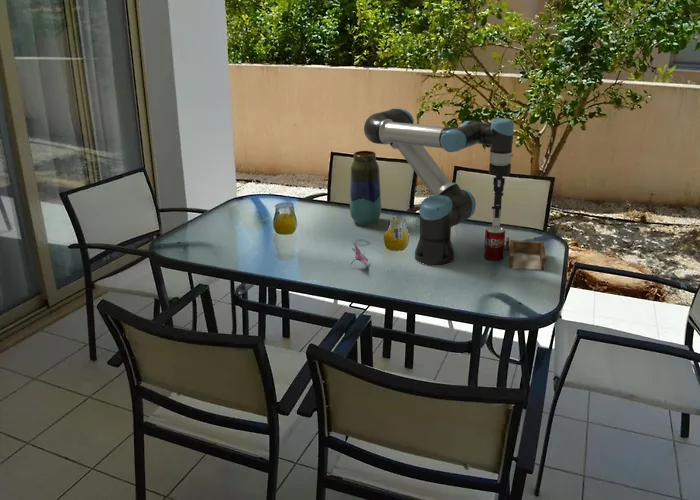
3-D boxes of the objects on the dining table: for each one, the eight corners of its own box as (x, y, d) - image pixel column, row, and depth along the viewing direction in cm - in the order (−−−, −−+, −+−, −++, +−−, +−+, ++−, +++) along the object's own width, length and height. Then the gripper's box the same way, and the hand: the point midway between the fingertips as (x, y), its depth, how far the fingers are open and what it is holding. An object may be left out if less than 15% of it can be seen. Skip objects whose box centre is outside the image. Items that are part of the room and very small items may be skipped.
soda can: (503, 263, 234) (505, 233, 230) (483, 262, 236) (485, 232, 231) (503, 255, 241) (505, 226, 236) (483, 254, 242) (485, 225, 237)
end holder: (509, 268, 230) (510, 255, 228) (509, 252, 243) (510, 239, 241) (544, 271, 227) (545, 257, 225) (542, 254, 241) (543, 242, 239)
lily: (359, 279, 227) (371, 257, 225) (333, 262, 230) (345, 240, 228) (370, 276, 238) (382, 254, 236) (345, 259, 242) (357, 238, 239)
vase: (382, 227, 272) (381, 156, 259) (350, 228, 272) (348, 157, 260) (381, 216, 284) (380, 148, 272) (350, 217, 285) (348, 149, 273)
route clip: (495, 249, 246) (496, 240, 245) (495, 246, 250) (496, 236, 248) (508, 250, 245) (509, 240, 244) (508, 246, 248) (509, 237, 247)
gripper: (511, 173, 212) (506, 231, 220) (510, 154, 234) (506, 208, 242) (488, 172, 213) (485, 230, 222) (490, 154, 236) (487, 207, 244)
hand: (496, 219), depth 232 cm, fingers open, 13 cm apart
